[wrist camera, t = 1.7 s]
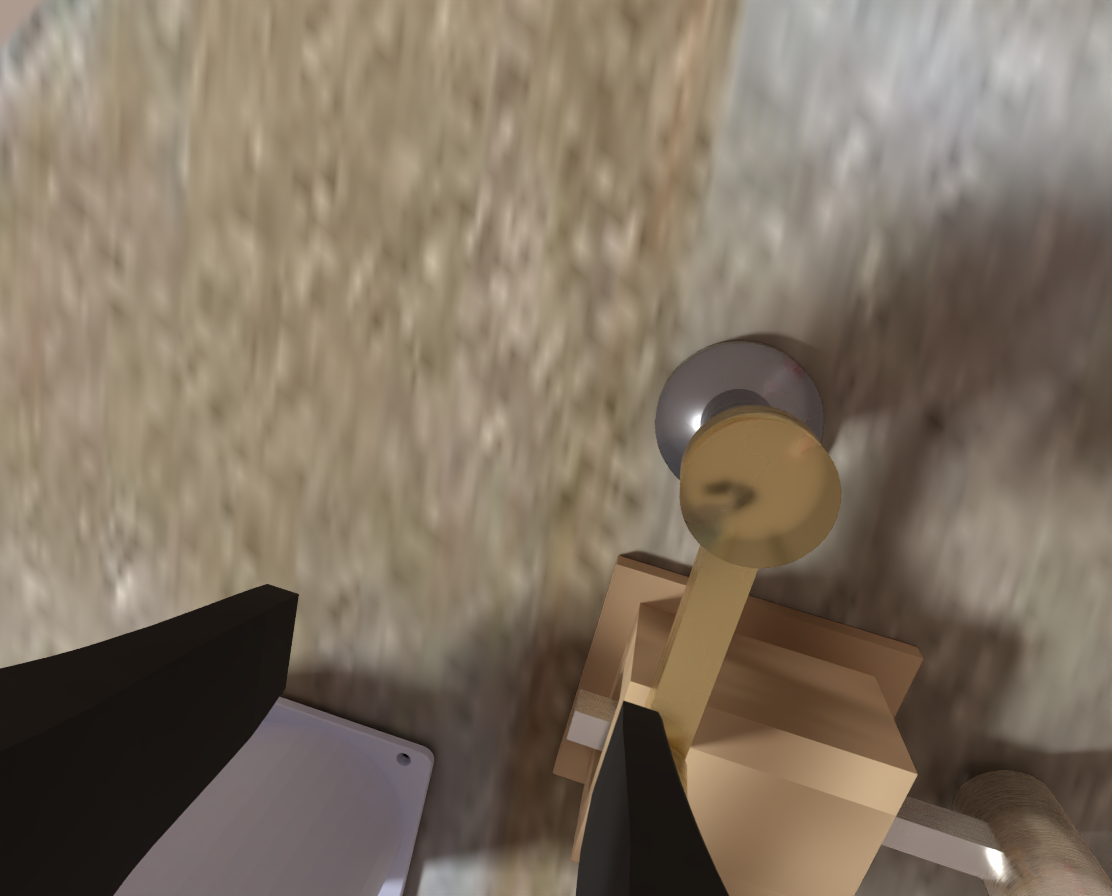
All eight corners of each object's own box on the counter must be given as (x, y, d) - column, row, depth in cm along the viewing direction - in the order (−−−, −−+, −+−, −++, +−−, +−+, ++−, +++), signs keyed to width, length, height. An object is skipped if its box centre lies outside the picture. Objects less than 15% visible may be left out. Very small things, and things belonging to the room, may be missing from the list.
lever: (704, 387, 14) (707, 412, 12) (848, 428, 14) (877, 460, 12) (591, 737, 17) (578, 805, 15) (708, 776, 17) (712, 851, 15)
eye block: (555, 760, 23) (527, 874, 19) (618, 555, 21) (601, 634, 17) (818, 849, 23) (849, 989, 18) (916, 646, 20) (979, 754, 16)
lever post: (637, 469, 20) (624, 529, 16) (682, 321, 19) (681, 344, 14) (787, 513, 20) (815, 587, 15) (844, 365, 18) (893, 402, 14)
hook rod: (572, 708, 22) (541, 833, 17) (594, 635, 21) (568, 747, 17) (1030, 860, 21) (1131, 1040, 16) (1074, 789, 20) (1195, 958, 15)
